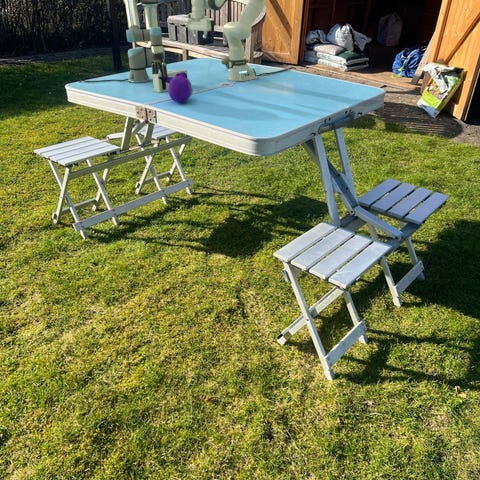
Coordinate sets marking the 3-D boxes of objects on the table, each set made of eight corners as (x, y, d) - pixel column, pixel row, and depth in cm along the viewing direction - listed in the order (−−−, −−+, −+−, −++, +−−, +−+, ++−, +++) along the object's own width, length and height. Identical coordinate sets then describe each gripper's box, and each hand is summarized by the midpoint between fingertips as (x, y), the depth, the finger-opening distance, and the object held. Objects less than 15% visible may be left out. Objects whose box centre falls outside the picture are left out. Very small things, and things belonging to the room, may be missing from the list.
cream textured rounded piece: (225, 72, 364) (224, 52, 356) (218, 70, 372) (217, 50, 365) (247, 69, 373) (247, 50, 365) (240, 67, 381) (240, 48, 374)
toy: (182, 94, 297) (192, 108, 276) (156, 89, 290) (164, 103, 269) (187, 69, 289) (197, 82, 268) (160, 64, 282) (169, 77, 261)
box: (159, 92, 304) (158, 75, 298) (154, 91, 308) (152, 74, 302) (188, 86, 320) (187, 69, 315) (182, 85, 324) (181, 68, 318)
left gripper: (171, 53, 293) (174, 89, 304) (153, 50, 304) (156, 86, 316) (162, 54, 288) (165, 91, 300) (144, 52, 299) (148, 87, 311)
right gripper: (212, 15, 300) (213, 38, 307) (192, 14, 312) (193, 36, 319) (205, 16, 296) (207, 39, 303) (185, 15, 308) (187, 37, 315)
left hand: (161, 88), depth 308 cm, fingers closed on box, 6 cm apart
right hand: (200, 37), depth 311 cm, fingers open, 8 cm apart
